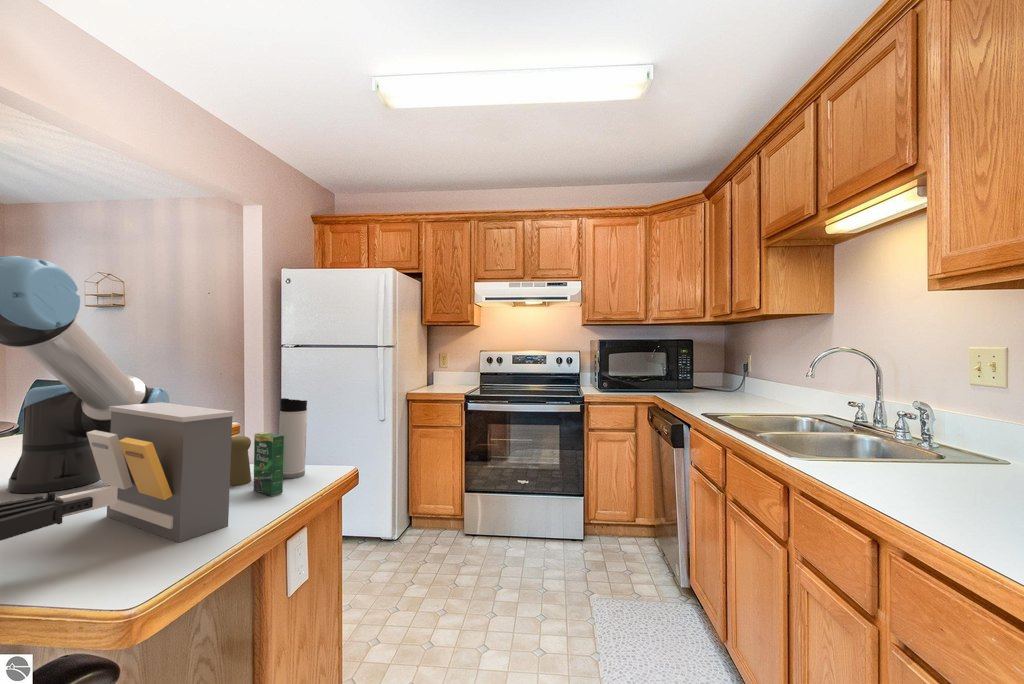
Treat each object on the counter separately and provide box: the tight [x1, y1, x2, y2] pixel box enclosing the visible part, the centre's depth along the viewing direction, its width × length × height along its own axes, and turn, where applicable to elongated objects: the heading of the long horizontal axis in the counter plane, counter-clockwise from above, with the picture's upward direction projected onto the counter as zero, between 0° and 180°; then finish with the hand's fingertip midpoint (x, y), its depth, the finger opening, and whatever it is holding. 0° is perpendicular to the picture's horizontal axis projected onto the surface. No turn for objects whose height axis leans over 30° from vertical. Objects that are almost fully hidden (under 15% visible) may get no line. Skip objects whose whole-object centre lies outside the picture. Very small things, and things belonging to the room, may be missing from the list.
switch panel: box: [106, 402, 236, 543], centre depth 81 cm, size 9×25×21 cm, turn 64°
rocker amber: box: [119, 438, 173, 500], centre depth 73 cm, size 2×8×10 cm, turn 64°
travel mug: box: [278, 397, 308, 480], centre depth 112 cm, size 6×7×20 cm
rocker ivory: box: [87, 430, 132, 490], centre depth 78 cm, size 2×8×10 cm, turn 64°
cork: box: [230, 435, 252, 487], centre depth 105 cm, size 6×6×11 cm
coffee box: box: [253, 431, 284, 497], centre depth 99 cm, size 8×3×13 cm, turn 57°
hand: (114, 494), depth 69 cm, fingers closed
